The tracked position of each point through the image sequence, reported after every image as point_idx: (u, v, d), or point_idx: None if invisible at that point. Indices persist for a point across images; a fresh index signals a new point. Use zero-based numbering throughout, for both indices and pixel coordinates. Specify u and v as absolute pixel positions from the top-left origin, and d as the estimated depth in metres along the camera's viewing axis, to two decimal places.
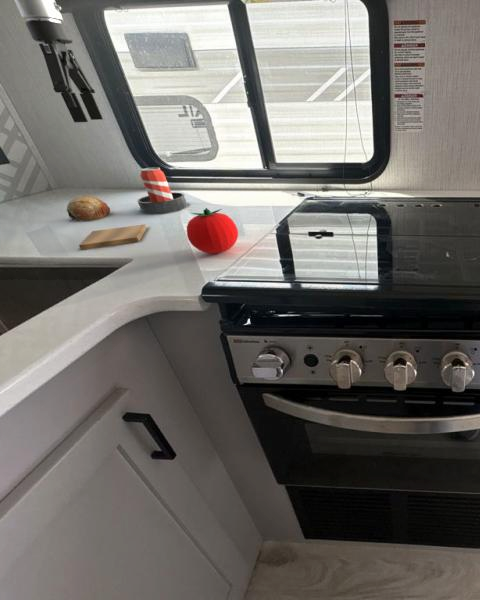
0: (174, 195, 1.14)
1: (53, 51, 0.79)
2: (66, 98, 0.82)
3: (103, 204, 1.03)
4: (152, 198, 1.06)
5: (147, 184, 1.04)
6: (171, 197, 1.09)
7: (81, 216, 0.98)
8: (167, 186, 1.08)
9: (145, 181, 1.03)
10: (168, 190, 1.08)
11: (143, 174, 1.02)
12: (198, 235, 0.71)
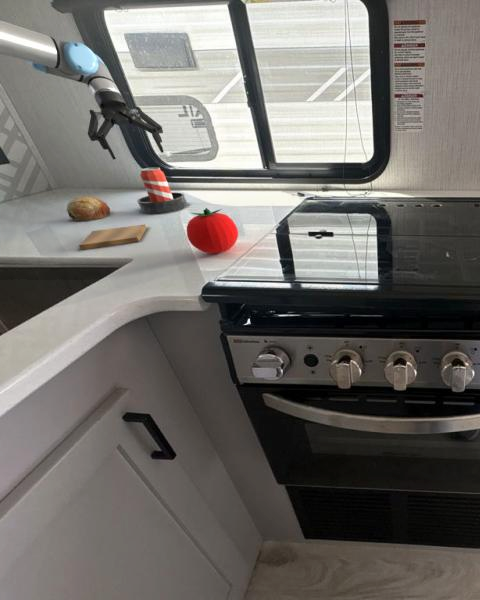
0: (174, 195, 1.14)
1: None
2: (159, 135, 1.12)
3: (103, 204, 1.03)
4: (152, 198, 1.06)
5: (147, 184, 1.04)
6: (171, 197, 1.09)
7: (81, 216, 0.98)
8: (167, 186, 1.08)
9: (145, 181, 1.03)
10: (168, 190, 1.08)
11: (143, 174, 1.02)
12: (198, 235, 0.71)
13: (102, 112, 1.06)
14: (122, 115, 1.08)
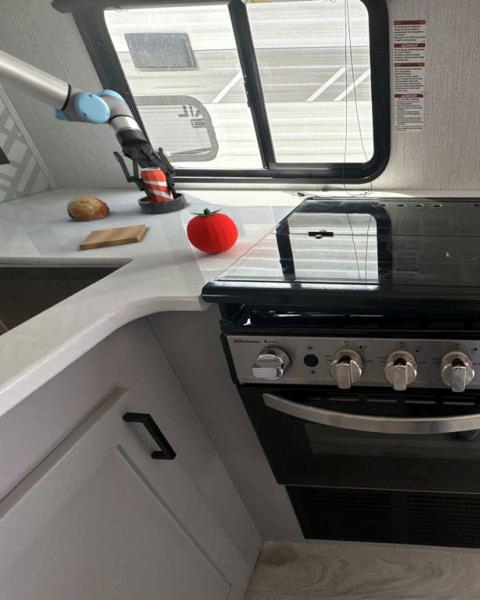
0: None
1: None
2: None
3: (103, 204, 1.03)
4: (152, 198, 1.06)
5: (147, 184, 1.04)
6: (171, 197, 1.09)
7: (81, 216, 0.98)
8: (167, 186, 1.08)
9: (145, 181, 1.03)
10: (168, 190, 1.08)
11: (143, 174, 1.02)
12: (198, 235, 0.71)
13: (124, 150, 1.04)
14: (144, 153, 1.07)
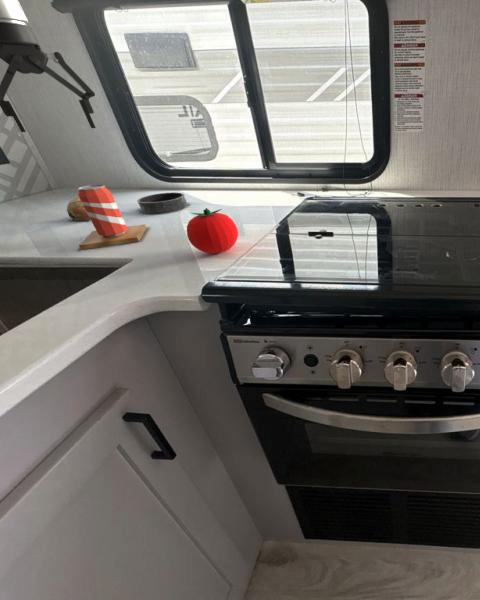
0: (174, 195, 1.14)
1: None
2: None
3: None
4: (95, 224, 0.82)
5: (87, 207, 0.80)
6: (122, 222, 0.85)
7: (81, 216, 0.98)
8: (115, 208, 0.83)
9: (84, 203, 0.79)
10: (117, 213, 0.84)
11: (81, 194, 0.78)
12: (198, 235, 0.71)
13: (0, 55, 0.74)
14: (34, 65, 0.78)
